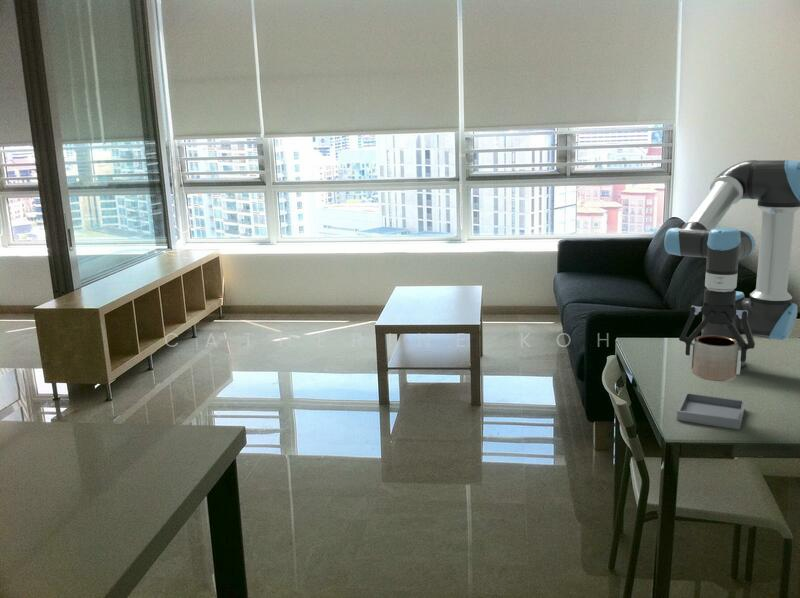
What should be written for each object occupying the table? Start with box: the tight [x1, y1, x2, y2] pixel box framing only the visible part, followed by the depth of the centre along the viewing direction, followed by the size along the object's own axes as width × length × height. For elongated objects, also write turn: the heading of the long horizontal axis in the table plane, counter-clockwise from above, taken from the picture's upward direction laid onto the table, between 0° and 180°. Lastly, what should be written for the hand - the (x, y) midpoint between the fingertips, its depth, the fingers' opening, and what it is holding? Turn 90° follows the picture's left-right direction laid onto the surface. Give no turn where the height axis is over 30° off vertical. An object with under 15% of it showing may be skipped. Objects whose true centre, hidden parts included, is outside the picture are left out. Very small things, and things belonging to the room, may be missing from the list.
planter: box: [691, 335, 739, 382], centre depth 195 cm, size 11×11×10 cm
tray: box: [676, 392, 746, 431], centre depth 198 cm, size 15×15×2 cm
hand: (714, 370), depth 196 cm, fingers closed on planter, 11 cm apart
